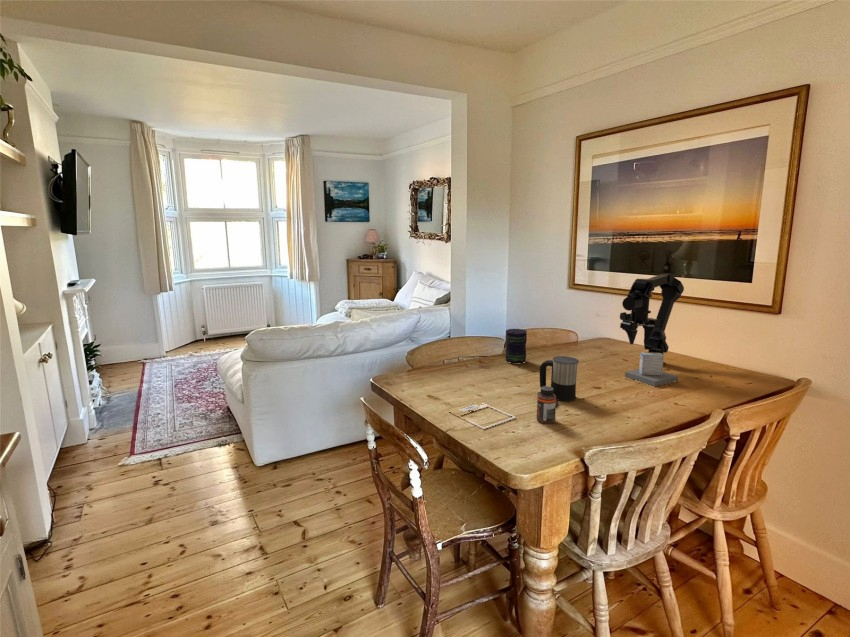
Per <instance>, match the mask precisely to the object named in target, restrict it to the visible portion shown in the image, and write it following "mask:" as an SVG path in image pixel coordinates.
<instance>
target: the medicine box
mask: <svg viewBox="0 0 850 637" xmlns="http://www.w3.org/2000/svg"><path fill="white" fill-rule="evenodd" d="M639 356H640V357H639V367H638V369H639V372H640V374H641V375H658V376H662V371H663V370H664V368H663V366H664V364H663V362H664V358H665V357H664V354H663V355H662V354H661V353H648V352H646V351H645V352H640V353H639Z"/></svg>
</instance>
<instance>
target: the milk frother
mask: <svg viewBox="0 0 850 637" xmlns="http://www.w3.org/2000/svg"><path fill="white" fill-rule="evenodd" d="M578 364H579V359H578V358H576V357H572V356H566V355H565V356H564V355H563V356H561V355H560V356H558V355H557V356H554V357H552V359H551V360H550V359H547V360H545V361H543V362H542V363H541V364H540V365H539V386H540V388H541V387H543V386H547V367H551V380H550V387H552V388H553V394H555V396H556V406H557V405H558V402H560V401H561V402H572V401H575V400H576V399H577V395H576V392H577V391H576V390H577V375H578ZM540 392H541V391H539V392H538V393H537V395H538V394H539V393H540Z"/></svg>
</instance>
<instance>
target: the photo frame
mask: <svg viewBox="0 0 850 637" xmlns="http://www.w3.org/2000/svg"><path fill="white" fill-rule="evenodd" d="M482 404H484V405H480V406H478V405H476V404H475V405H472V406H469V407H466V408H463V409H459V410H460V411H463V412H465V411H468V410H472V409H473V410H474V409H476V410H478V409H481V408H484V407H487V406H489V407H491V408H493V409H495V410H497V411H499V412H498V413H500V412H502V413H504V414H506V415H505V416H507V415H508V416H507V417H509V416H510V417H509V418H506V419H503V420H501V421H497V422H495V423H492V424H490V425H487V426H482V425H480V424H479V423H478V424H477V423H476V422H473V421H472V420H470V419H468V420H469V421H470V422H471V423H473V424H475V425H477V426H479V427H481V428H483V429H486V428H489V427H491V428H493V427H492V426H494V427H496V426H495V425H497V426H499V425H498V424H500V425H502V424H505V423H508V422H510V421H509V420H511V421H513V420H512V419H514V420H516V419H517V417H516V416H515V415H512V414H510V413H507V412H505V411H503V410H501V409H498V408H496V407H493V406H492V405H489V404H486V403H484V402H482ZM477 408H478V409H477ZM491 408H490V409H491ZM493 409H492V410H493ZM495 410H494V411H495ZM474 411H475V410H474ZM497 411H496V412H497ZM470 412H471V411H470ZM502 413H501V414H502ZM504 414H503V415H504ZM511 416H512V417H511ZM515 418H516V419H515ZM507 421H508V422H507ZM504 422H505V423H504ZM471 423H470V424H471ZM501 423H502V424H501ZM473 424H472V425H473ZM475 425H474V426H475ZM489 429H490V428H489ZM486 430H487V429H486Z"/></svg>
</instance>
